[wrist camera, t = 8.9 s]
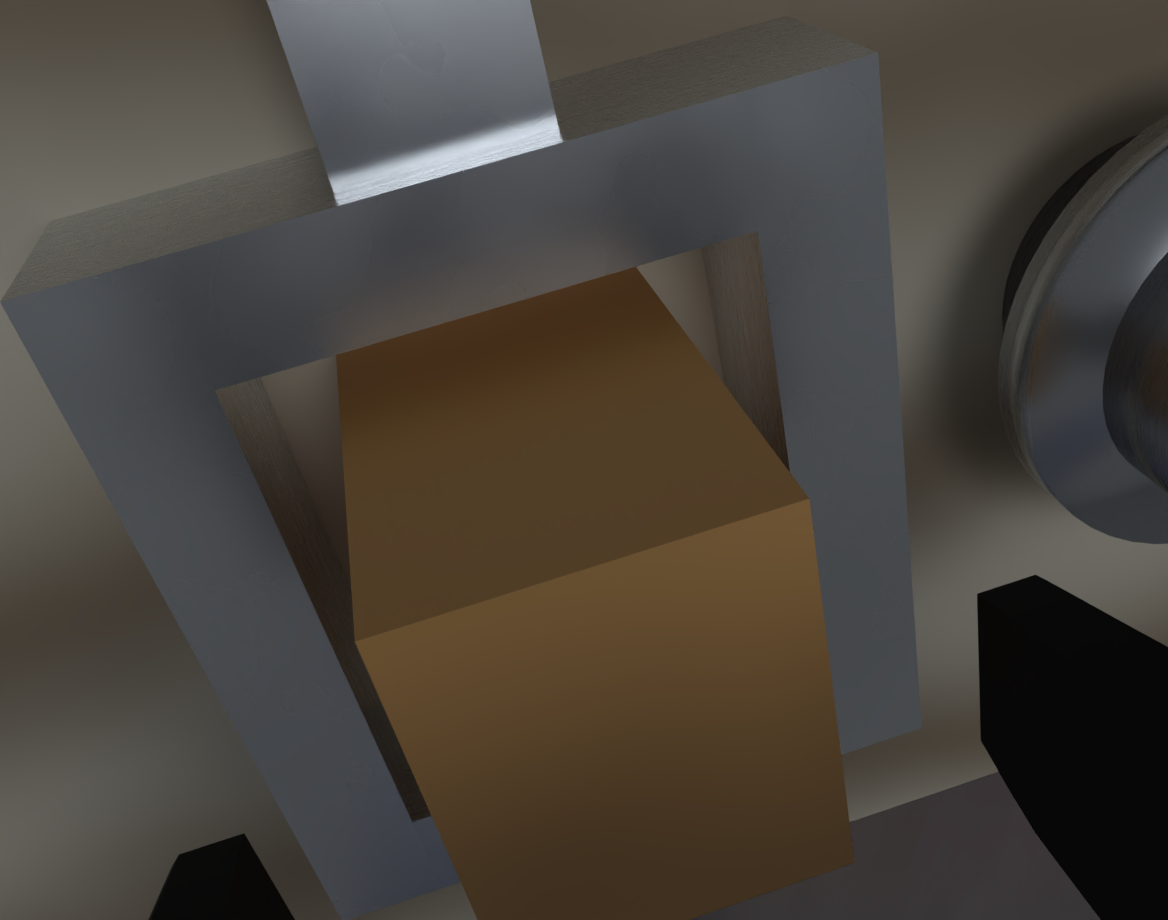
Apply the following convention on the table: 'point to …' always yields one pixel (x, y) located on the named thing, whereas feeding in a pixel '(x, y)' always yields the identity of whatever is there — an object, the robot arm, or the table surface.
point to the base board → (312, 415)
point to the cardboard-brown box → (591, 611)
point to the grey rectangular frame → (537, 266)
